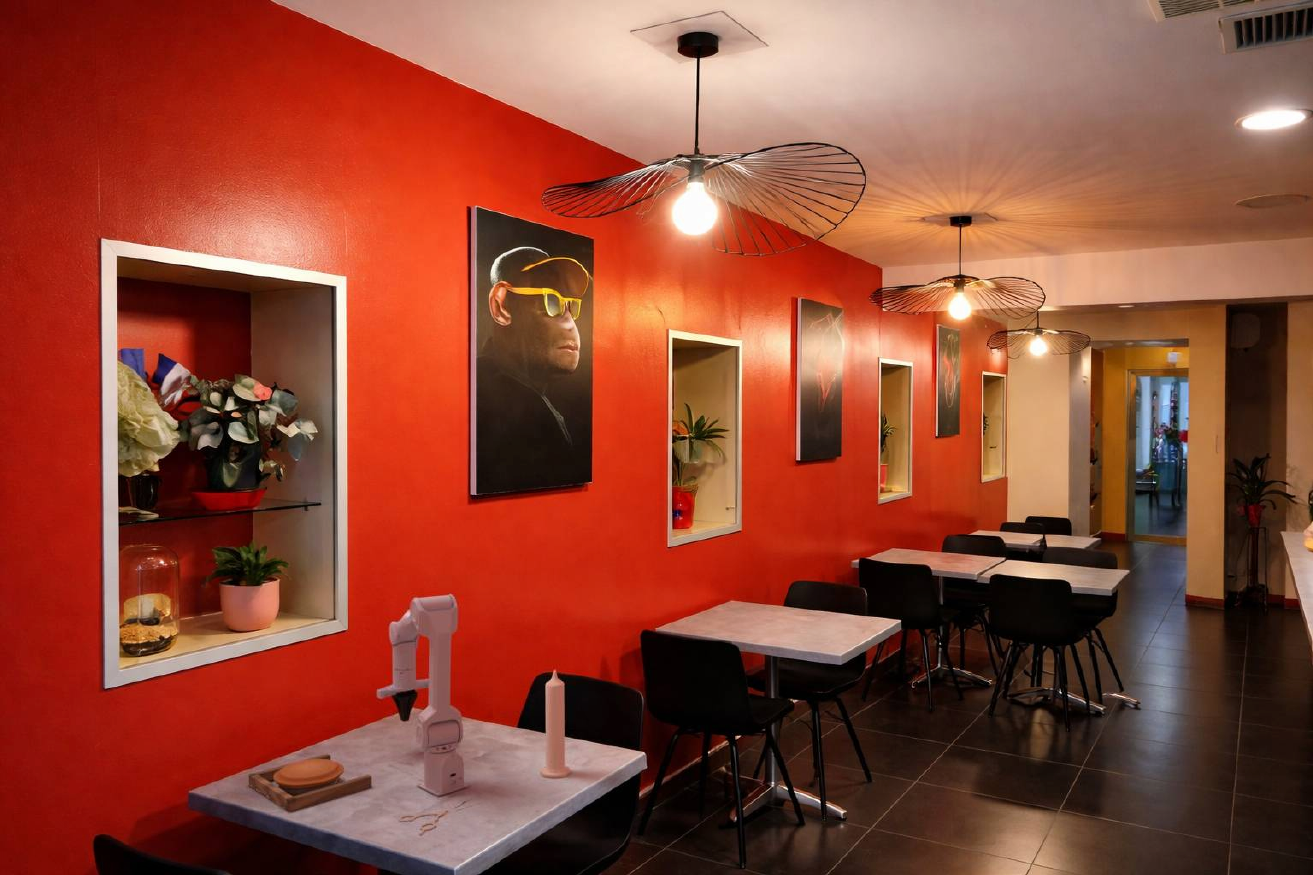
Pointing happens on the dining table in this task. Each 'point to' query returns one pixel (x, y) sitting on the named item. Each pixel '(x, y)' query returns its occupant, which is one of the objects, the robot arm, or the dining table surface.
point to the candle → (555, 730)
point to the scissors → (439, 814)
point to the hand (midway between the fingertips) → (404, 720)
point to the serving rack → (310, 798)
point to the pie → (308, 775)
